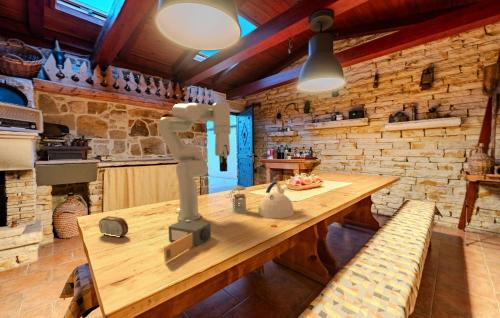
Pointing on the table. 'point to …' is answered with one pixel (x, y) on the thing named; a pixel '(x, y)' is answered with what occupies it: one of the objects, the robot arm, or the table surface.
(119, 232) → the tin
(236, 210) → the french press
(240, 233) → the table surface
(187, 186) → the robot arm
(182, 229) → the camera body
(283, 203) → the kettle
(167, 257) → the side door
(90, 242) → the table surface
